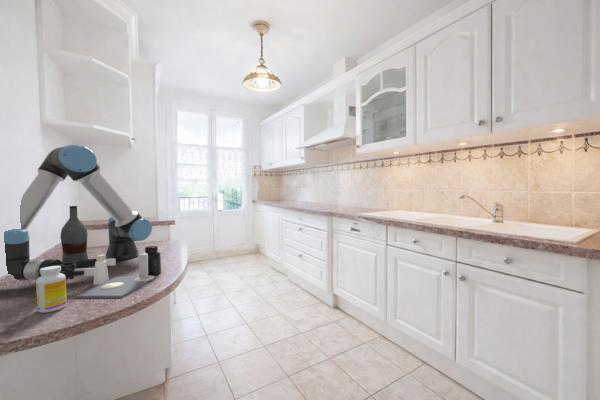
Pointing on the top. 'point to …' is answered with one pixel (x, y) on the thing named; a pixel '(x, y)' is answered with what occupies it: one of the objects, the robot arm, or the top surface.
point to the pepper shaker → (100, 270)
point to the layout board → (121, 283)
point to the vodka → (74, 238)
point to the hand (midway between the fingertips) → (105, 266)
